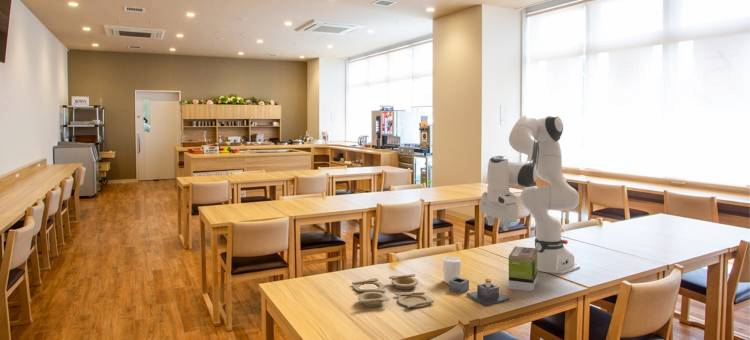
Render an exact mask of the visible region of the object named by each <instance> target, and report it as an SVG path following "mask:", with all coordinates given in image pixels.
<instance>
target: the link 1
mask: <svg viewBox="0 0 750 340" xmlns="http://www.w3.org/2000/svg"><path fill="white" fill-rule="evenodd" d="M468 290H470V280H469V279H466V278H463V277H462V278H461V277H460V278H458V277H456V278H454V279H452V280H450V281H449V283H448V291H451V292H454V293H458V294H463V293H465V292H467V291H468Z"/></svg>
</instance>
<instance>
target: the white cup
mask: <svg viewBox="0 0 750 340" xmlns="http://www.w3.org/2000/svg"><path fill="white" fill-rule="evenodd" d="M461 267H462V259H461V258H460V257H457V256H445V257H443V258H442V268H443V281H444V283H447V284H449V281H450V280H452V279H454V278H456V277H458V278H461V269H462V268H461Z"/></svg>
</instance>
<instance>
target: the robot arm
mask: <svg viewBox="0 0 750 340" xmlns="http://www.w3.org/2000/svg"><path fill="white" fill-rule="evenodd" d="M563 131H564V124H563V122H562V119H561V118H560V117H558V115H548V116H544V117H541V118H536V117H534V116H533V115H529V114H527V115H523V116H521V117H520V118H519V119H518V120H517V121H516V122H515V124H514V125H513V127H512V129H511V131H510V133H509V136H508V142H509V145H510V147H511V148H512V149H513V150H514V151H516V152H517V153H520V154H524V155H527V159H526V161H525V162H514V161H513V162H511V161H509V159H508V157H507V156H504V155H497V156H493V157H491V158H489V161H488V165H487V183H488V185H487V190H486V191H487V192H486V191H484V192H483V193H482V194H481V198H480V204H479V211H480V213H481V214H484V215H485V217H486V220H487V224H488V226H494V220H493V219H492V217H493V218H496V219H499V220H501V221H503V223H504V225H503V226H502V230H503V231H504V232H507V231H509V226H510V224H511V223H515V222H517V221H518V219H519V209H518V204H517V203H518V202H519V200H520V203H521V205H522V206H523V207H524V208H525V209H527V211H529V213H530V214H531V215H532V217H533V219H534V223H535V238H534V248H537V272H543V273H551V274H560V275H564V274H566V273H570V272H571V271H575V270H578V269H580V268H581V265H579V264H578V263H576V262H575V256H574V254H573V252H571V251H570V250H568V249H567V248H566V247H565V246H564V245H568V243H569V241H568V240H567V239H562V224H561V222H560V220H558V219H557V218H555V217H554V216H551V215H550V214H549V213H548V211H562V212H563V211H571V210H575V209H576V208H577V207H578V206H579V203H580V194H579V192H578V191H577V190H576V188H574V187H572V185H570V184H569V183H568V182H567V181H566V179H565V178H564V175H563V164H562V160H563V159H562V151H561V150H562V148H561V146H560V143H559V141H560V139H561V136H562V134H563ZM538 178H539V179H541V180H542V181H543V182H545V183H548V185H549V186H547V185H546V186H545V185H534V184H535V183H536V182H537V179H538ZM533 185H534V186H533ZM509 186H520V187H524V188H523V189H522V190H521V192H520V197H519V198H520V199H519V198H518V197H517V196H516V195H515V194H513V193H512V192H511V191H510V187H509ZM518 199H519V200H518Z"/></svg>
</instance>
